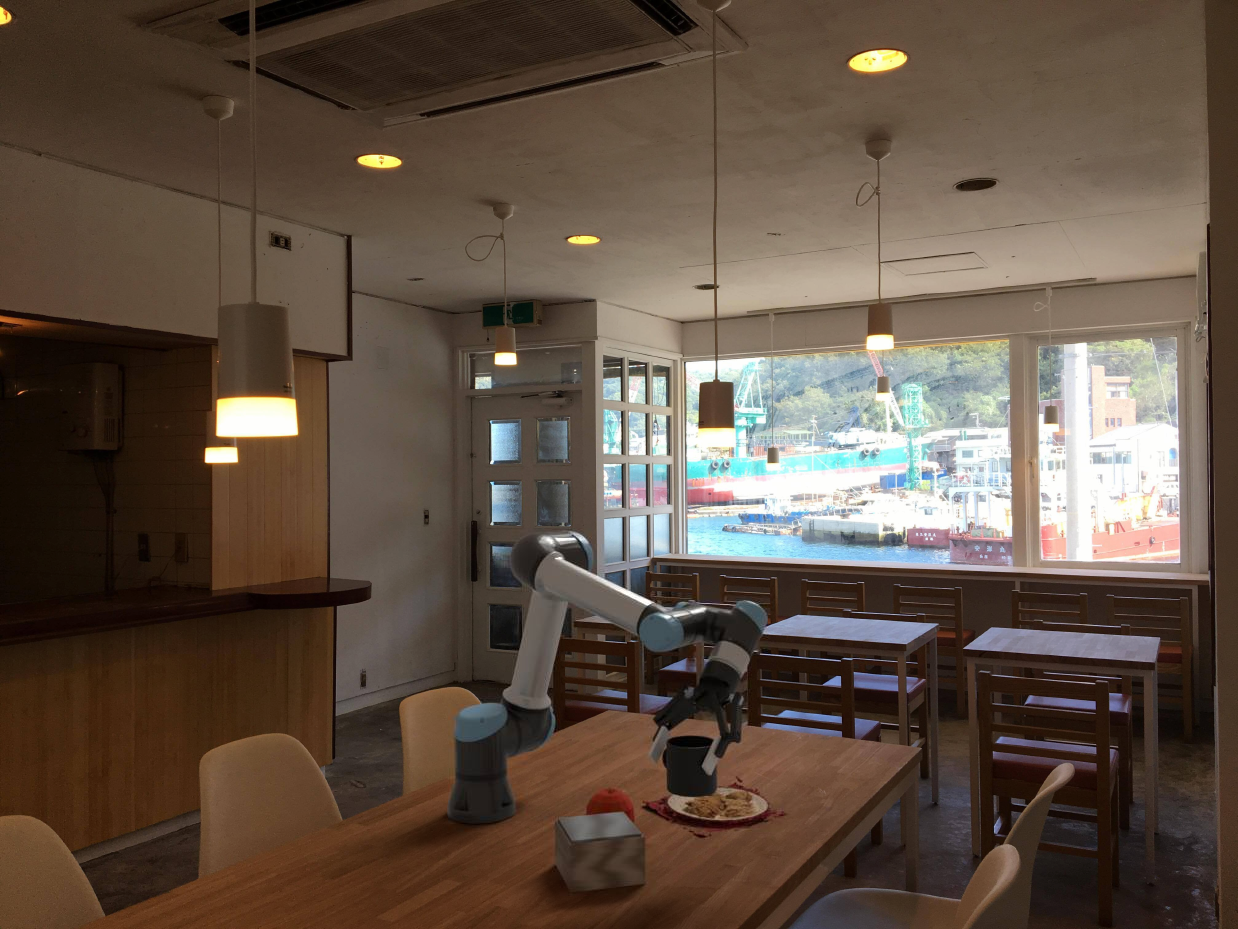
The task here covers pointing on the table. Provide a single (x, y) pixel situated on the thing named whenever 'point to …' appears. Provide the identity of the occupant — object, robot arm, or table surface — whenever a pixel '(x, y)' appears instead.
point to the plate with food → (717, 808)
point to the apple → (610, 803)
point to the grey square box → (599, 851)
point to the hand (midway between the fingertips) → (678, 765)
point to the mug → (688, 766)
